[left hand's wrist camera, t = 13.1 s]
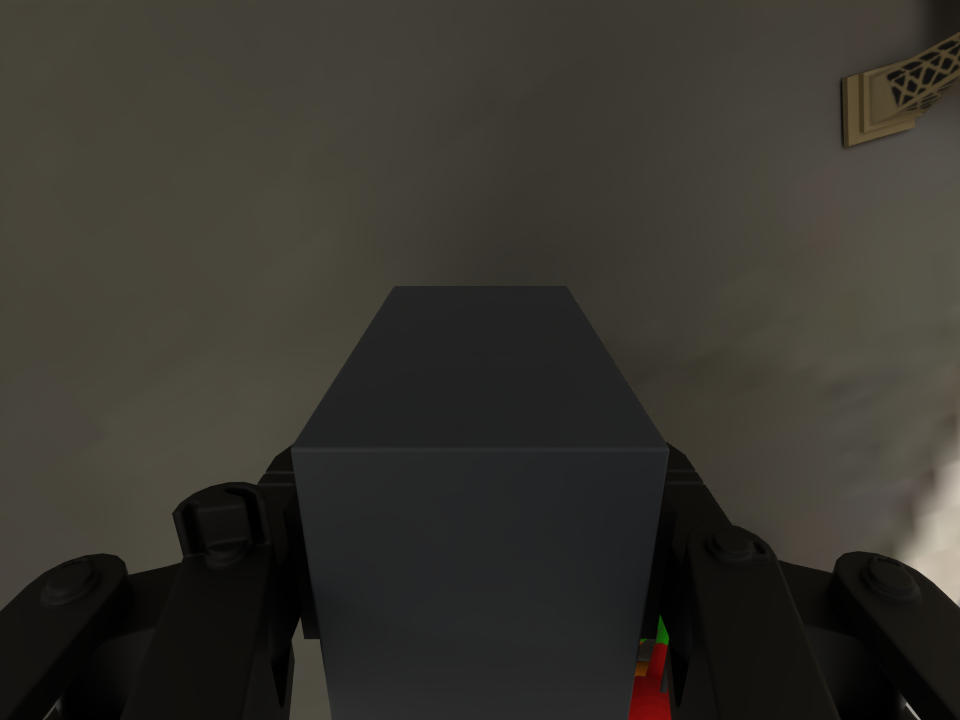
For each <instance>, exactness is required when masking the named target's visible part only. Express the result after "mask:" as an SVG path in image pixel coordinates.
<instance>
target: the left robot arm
mask: <svg viewBox="0 0 960 720" xmlns="http://www.w3.org/2000/svg"><path fill="white" fill-rule="evenodd" d="M665 443H666V444H667V446H668V447H669V456H668V463H667V469H666V476H665V482H664V489H663V495H662V502H661V508H660V515H659V521H658V528H657V534H656V541H655V548H654V554H653V561H652V567H651V574H650V580H649V587H648V593H647V600H646V606H645V613H644V619H643V626H642V632H641V639H656V636H657V630H658V624H659V618H660V615H661V618H662V621H663V623H664V626H665V628H666V631H667V634H668V636H669V641H668V646H667V652H666V657H665V663H664V668H663V674H662V679H661V686H660V692H661V693H667V688H668V693H669V703H670V714H671V720H918V719H917V718H916V717H915V716H914V715H913V714H912V713H911V711H910V710H909V709H908V707H907V706H906V703H907V702H908V704H909V705H910V706H911V708H912V709H913V710H914V711H915V713H916V714H917V715H918V717H919V718H920V719H921V720H960V607H958V606H957V605H956V604H955V603H954V602H953V601H952V600H951V599H950V598H949V597H948V596H947V595H946V594H945V593H944V592H943V591H942V590H941V589H940V588H938V587H937V586H936V585H935V584H934V583H933V582H932V581H930V580H929V579H928V578H926V577H925V576H924V575H922V574H921V573H920V572H919V571H917V570H915V569H913V568H911V567H910V566H908V565H906V564H904V563H902V562H900V561H898V560H895V559H892V558H890V557H886V556H883V555H880V554H877V553H869V552H860V551H857V552H851V553H845V554H843V555H842V556H841V557H840V558H838V559H837V560H836V563H835V566H834V569H833V573H830V572H826V571H821V570H817V569H812V568H808V567H803V566H799V565H794V564H791V563H787V562H784V561H780V560H778V559H777V556H776V555H775V553H774V552H773V550H772V549H771V548H770V546H769V545H768V544H767V543H766V542H764V541H763V540H762V539H761V538H759V537H758V536H757V535H755V534H753V533H751V532H749V531H747V530H745V529H743V528H741V527H738V526H734V525H732V524H731V522H730V521H729V520H728V518H727V517H726V515H725V514H724V512H723V511H722V509H721V508H720V506H719V505H718V503H717V502H716V500H715V499H714V497H713V496H712V494H711V493H710V491H709V490H708V488H707V487H706V485H703V481H702V479H701V478H700V476H699V475H698V473H695V469H694V467H693V466H692V464H691V463H690V461H689V460H688V458H687V457H686V455H684V454H683V453H682V452H680V451H679V450H677V449H676V448H675V447H673V446H672V445H670V444H669V443H667V442H665ZM292 446H293V445H291V446H290V447H288V448H287V449H286V450H284V451H283V452H281V453H280V454H279V455H277V456H276V457H275V458H274V460H273V461H272V463H271V464H270V466H269V467H268V469H267V470H266V474H264V475H263V476H262V478H261V479H260V481H259V482H258V486H257V485H254V484H250V483H246V482H228V483H223V484H219V485H214V486H210V487H208V488H206V489H203V490H201V491H199V492H196V493H194V494H192V495H191V496H190V497H188V498H187V499H185V500H184V501H182V502H181V503H180V504H179V505H178V507H177V508H176V509H175V510H174V512H173V513H172V515H173V519H174V523H175V526H176V530H177V534H178V538H179V542H180V545H181V549H182V553H183V560H182V562H181V563H177V564H174V565H171V566H167V567H163V568H158V569H154V570H149V571H145V572H140V573H136V574H131V575H129V574H128V571H127V568H126V565H125V562H124V561H122V560H121V559H120V558H119V557H118V556H116V555H110V554H104V553H102V554H94V555H86V556H82V557H79V558H76V559H72V560H69V561H67V562H64V563H62V564H60V565H58V566H56V567H54V568H52V569H50V570H48V571H46V572H44V573H43V574H42V575H41V576H39V577H38V578H37V579H35V580H34V581H33V582H31V583H30V584H29V585H27V586H26V587H25V588H24V589H23V590H22V591H21V592H20V593H19V594H18V595H17V596H16V597H15V598H14V599H13V600H12V601H11V602H10V603H9V604H8V605H7V606H6V607H4V608H3V609H2V610H1V611H0V720H43V718H44V717H45V716H46V715H47V713H48V712H49V711H50V709H51V708H52V707H53V706H54V704H55V706H56V707H55V708H54V710H53V711H52V712H51V714H50V715H49V716H48V717H47V718H46V719H45V720H289V715H290V705H291V694H292V684H293V673H294V663H295V659H294V652H293V646H292V641H291V640H292V637H293V635H294V632H295V629H296V627H297V624H298V622H299V619H300V616H301V622H302V628H303V634H304V639H320V638H319V631H318V625H317V618H316V611H315V605H314V598H313V592H312V585H311V579H310V572H309V566H308V559H307V553H306V546H305V540H304V533H303V527H302V520H301V514H300V507H299V501H298V494H297V488H296V481H295V475H294V468H293V462H292V455H291V448H292Z"/></svg>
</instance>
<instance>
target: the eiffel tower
mask: <svg viewBox="0 0 960 720" xmlns="http://www.w3.org/2000/svg"><path fill="white" fill-rule="evenodd" d="M959 81H960V32H959V33H957V34H955V35H953V36H952V37H950V38H948V39H946V40H944V41H942V42H940V43H939V44H937V45H935V46H933V47H931V48H929V49H927V50H926V51H924V52H922V53H920V54H918V55H916V56H915V57H912V58H909V59H905V60H902V61H899V62H895V63H892V64H889V65H885V66H882V67H879V68H876V69H872V70H869V71H866V72H862V73H859V74H856V75H853V76H849V77H846V78H843V79H842V84H843V123H844V146H851V145H855V144H858V143H861V142H865V141H868V140H872V139H875V138H879V137H882V136H886V135H889V134H893V133H896V132H899V131H903V130H906V129H910V128H913V127H915V117H919V116H921V113H922V112H926V111H927V110H928V109H929V108H930V107H931V106H932V105H933V104H935V103H936V102H937V101H938V100H939V99H940V98H941V97H942V96H943V95H944V94H946V93H947V92H948V91H949V90H950V89H951V88H952V87H953V86H954V85H956V84H957V83H958V82H959Z"/></svg>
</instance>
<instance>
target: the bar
mask: <svg viewBox="0 0 960 720" xmlns="http://www.w3.org/2000/svg"><path fill="white" fill-rule="evenodd" d="M291 455H292V462H293V468H294V475H295V481H296V488H297V494H298V501H299V507H300V514H301V520H302V527H303V533H304V540H305V546H306V553H307V559H308V566H309V572H310V579H311V585H312V592H313V598H314V605H315V611H316V618H317V625H318V631H319V638H320V644H321V651H322V657H323V664H324V670H325V677H326V683H327V690H328V696H329V703H330V709H331V716H332V720H628V717H629V710H630V704H631V697H632V691H633V684H634V678H635V671H636V665H637V658H638V652H639V645H640V639H641V632H642V626H643V619H644V613H645V606H646V600H647V593H648V587H649V580H650V574H651V567H652V561H653V554H654V548H655V541H656V534H657V528H658V521H659V515H660V508H661V502H662V495H663V489H664V482H665V476H666V469H667V463H668V456H669V447H668V446H667V444H666V443H665V441H664V439H663V438H662V436H661V435H660V433H659V432H658V430H657V428H656V427H655V425H654V424H653V422H652V421H651V419H650V417H649V416H648V414H647V413H646V411H645V409H644V408H643V406H642V405H641V403H640V402H639V400H638V398H637V397H636V395H635V394H634V392H633V391H632V389H631V387H630V386H629V384H628V383H627V381H626V380H625V378H624V376H623V375H622V373H621V372H620V370H619V369H618V367H617V365H616V364H615V362H614V361H613V359H612V358H611V356H610V354H609V353H608V351H607V350H606V348H605V347H604V345H603V343H602V342H601V340H600V339H599V337H598V336H597V334H596V332H595V331H594V329H593V328H592V326H591V324H590V323H589V321H588V320H587V318H586V317H585V315H584V313H583V312H582V310H581V309H580V307H579V306H578V304H577V302H576V301H575V299H574V298H573V296H572V295H571V293H570V291H569V290H568V288H567V287H566V286H395V287H394V288H393V289H392V291H391V292H390V294H389V295H388V297H387V299H386V300H385V302H384V303H383V305H382V306H381V308H380V309H379V311H378V313H377V314H376V316H375V317H374V319H373V320H372V322H371V324H370V325H369V327H368V328H367V330H366V331H365V333H364V335H363V336H362V338H361V339H360V341H359V342H358V344H357V346H356V347H355V349H354V350H353V352H352V353H351V355H350V356H349V358H348V360H347V361H346V363H345V364H344V366H343V367H342V369H341V371H340V372H339V374H338V375H337V377H336V378H335V380H334V382H333V383H332V385H331V386H330V388H329V389H328V391H327V393H326V394H325V396H324V397H323V399H322V400H321V402H320V404H319V405H318V407H317V408H316V410H315V411H314V413H313V414H312V416H311V418H310V419H309V421H308V422H307V424H306V425H305V427H304V429H303V430H302V432H301V433H300V435H299V436H298V438H297V440H296V441H295V443H294V444H293V446H292V448H291Z"/></svg>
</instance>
